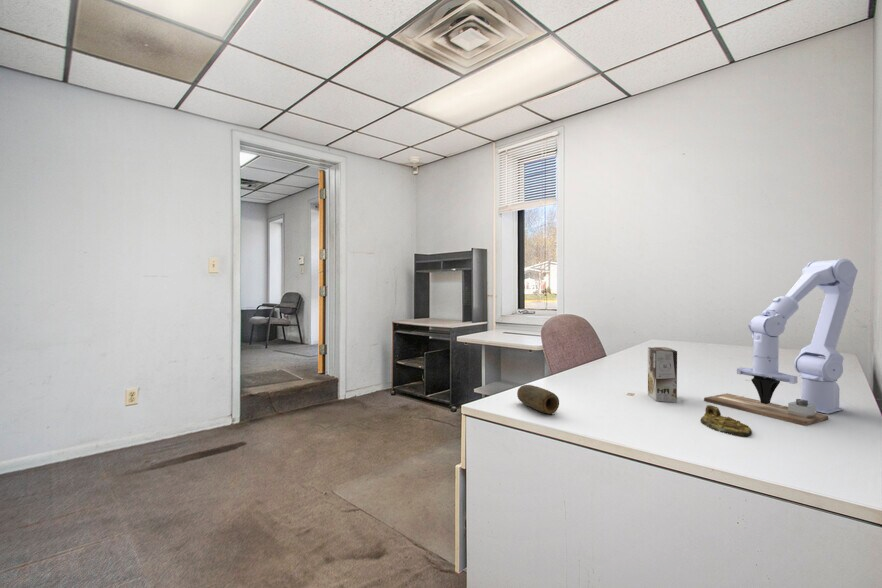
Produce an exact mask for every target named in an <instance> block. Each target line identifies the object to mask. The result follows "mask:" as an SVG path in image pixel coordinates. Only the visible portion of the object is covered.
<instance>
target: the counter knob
mask: <svg viewBox="0 0 882 588" xmlns="http://www.w3.org/2000/svg"><path fill="white" fill-rule="evenodd" d="M787 403H788V404H787V407H788V414H790V415H794V416H799V417H803V418H809V417H813V416H816V413H817V411H816V405H815V404H810V403H808V401H807V400H803V399H801V398H797V399H796V400H795V401H792V402H787Z"/></svg>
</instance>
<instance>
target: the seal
mask: <svg viewBox="0 0 882 588" xmlns="http://www.w3.org/2000/svg"><path fill="white" fill-rule="evenodd" d="M700 423H701V424H702V425H703V426H706V428H708V427H709V428H708V429H712V430H713V429H714V431H717V432H719V431H720V432H719V433H723V432H724V434H727V433H728V434H729V435H731V434H732V435H731V436H737V437H749V436H751V434H752V435H753V433H752V429H751V427H750V426H749V425H747V424H745V423H742V422H741V420H736V419H734V418H732V417H731V416H730V417H729V416H723V415H722V413H721V410H720V409H719V408H718V407H717V406H715V405H711V404H708V405H706V407H705V413H704V414H703V416H702V417H701V418H700ZM728 434H727V435H728Z"/></svg>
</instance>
